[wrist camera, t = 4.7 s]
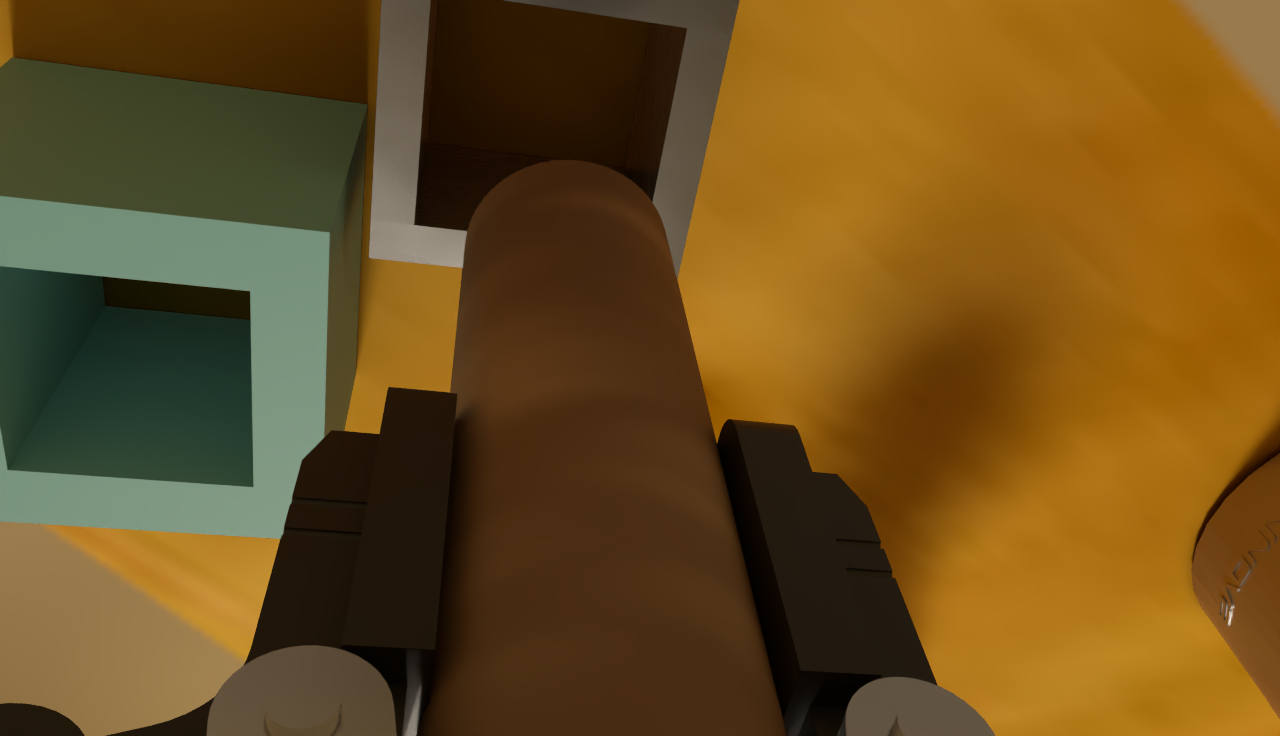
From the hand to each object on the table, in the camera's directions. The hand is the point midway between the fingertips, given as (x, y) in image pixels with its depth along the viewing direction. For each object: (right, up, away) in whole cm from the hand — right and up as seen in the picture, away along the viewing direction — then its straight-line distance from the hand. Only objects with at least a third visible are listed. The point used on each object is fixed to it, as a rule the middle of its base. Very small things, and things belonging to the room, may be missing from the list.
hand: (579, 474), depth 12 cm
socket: (-9, +4, +13) cm, 16 cm away
